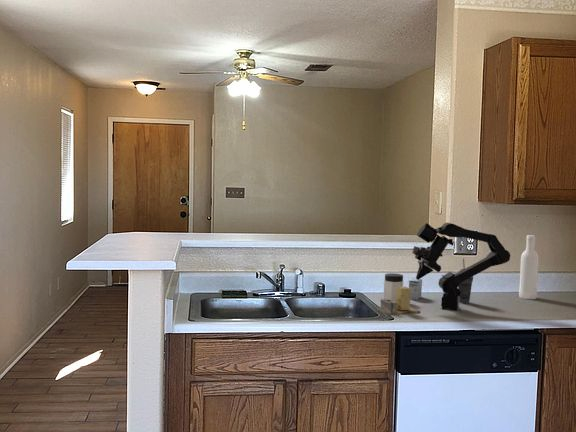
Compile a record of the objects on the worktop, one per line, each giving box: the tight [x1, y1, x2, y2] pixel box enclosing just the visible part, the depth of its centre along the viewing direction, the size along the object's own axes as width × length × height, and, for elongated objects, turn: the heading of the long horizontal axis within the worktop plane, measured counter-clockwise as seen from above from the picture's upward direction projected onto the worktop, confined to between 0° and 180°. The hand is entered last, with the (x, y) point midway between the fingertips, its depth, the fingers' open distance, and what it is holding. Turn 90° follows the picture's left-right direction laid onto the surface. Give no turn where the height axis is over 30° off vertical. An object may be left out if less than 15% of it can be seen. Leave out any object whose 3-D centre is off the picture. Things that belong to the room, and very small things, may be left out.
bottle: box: [518, 234, 540, 300], centre depth 284 cm, size 8×8×30 cm
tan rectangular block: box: [395, 285, 411, 310], centre depth 249 cm, size 9×4×9 cm, turn 109°
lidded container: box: [383, 272, 404, 302], centre depth 270 cm, size 9×8×12 cm
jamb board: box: [379, 298, 421, 316], centre depth 250 cm, size 14×8×5 cm, turn 109°
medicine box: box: [408, 277, 423, 301], centre depth 278 cm, size 8×4×9 cm, turn 155°
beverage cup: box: [457, 258, 474, 304], centre depth 270 cm, size 7×7×20 cm
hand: (416, 279), depth 257 cm, fingers closed
